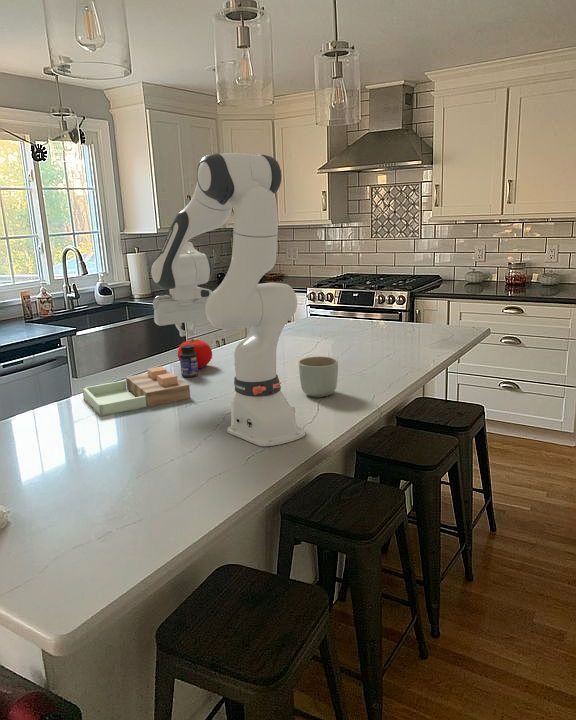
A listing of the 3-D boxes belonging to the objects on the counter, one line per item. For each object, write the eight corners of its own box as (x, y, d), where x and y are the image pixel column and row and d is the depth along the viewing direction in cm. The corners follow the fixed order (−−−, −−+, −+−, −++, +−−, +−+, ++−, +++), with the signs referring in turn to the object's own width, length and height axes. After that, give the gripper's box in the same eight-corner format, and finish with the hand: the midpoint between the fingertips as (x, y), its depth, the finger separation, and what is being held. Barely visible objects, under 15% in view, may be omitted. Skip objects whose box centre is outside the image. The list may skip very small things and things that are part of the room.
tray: (146, 407, 183) (145, 396, 182) (100, 416, 176) (99, 405, 175) (125, 390, 201) (124, 380, 200) (83, 398, 194) (82, 387, 193)
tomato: (193, 362, 234) (191, 334, 231) (218, 365, 227) (216, 337, 224) (172, 369, 225) (169, 341, 222) (197, 373, 218) (195, 344, 215)
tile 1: (177, 383, 190) (177, 376, 190) (162, 386, 188) (162, 378, 187) (172, 379, 194) (171, 372, 194) (157, 382, 192) (156, 375, 191)
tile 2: (167, 376, 199) (166, 369, 198) (152, 379, 196) (151, 372, 195) (161, 373, 203) (161, 366, 202) (147, 375, 200) (147, 368, 200)
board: (190, 398, 190) (189, 384, 189) (148, 406, 183) (146, 392, 182) (166, 382, 208) (165, 369, 207) (127, 389, 201) (125, 377, 200)
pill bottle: (194, 378, 212) (192, 348, 209) (178, 377, 213) (176, 348, 210) (200, 373, 218) (198, 344, 215) (185, 372, 219) (182, 344, 216)
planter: (329, 386, 196) (329, 354, 193) (344, 397, 185) (344, 363, 182) (294, 391, 193) (293, 359, 190) (307, 402, 181) (306, 368, 178)
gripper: (155, 297, 180) (159, 341, 184) (216, 290, 190) (219, 332, 194) (148, 295, 185) (153, 338, 189) (208, 288, 195) (211, 329, 199)
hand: (187, 335), depth 191 cm, fingers closed
